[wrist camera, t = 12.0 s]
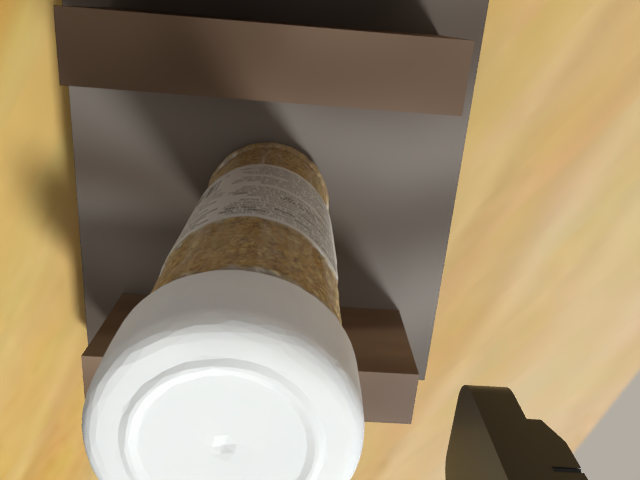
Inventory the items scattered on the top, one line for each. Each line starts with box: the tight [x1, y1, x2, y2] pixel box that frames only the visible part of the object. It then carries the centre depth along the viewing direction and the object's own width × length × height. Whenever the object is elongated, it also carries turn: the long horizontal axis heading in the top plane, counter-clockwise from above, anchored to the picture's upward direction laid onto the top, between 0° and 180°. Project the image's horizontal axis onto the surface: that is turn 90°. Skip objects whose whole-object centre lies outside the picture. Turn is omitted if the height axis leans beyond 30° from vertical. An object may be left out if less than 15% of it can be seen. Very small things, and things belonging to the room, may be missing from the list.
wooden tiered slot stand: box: [53, 0, 489, 424], centre depth 17 cm, size 17×14×12 cm
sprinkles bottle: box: [82, 142, 364, 480], centre depth 15 cm, size 5×5×13 cm
